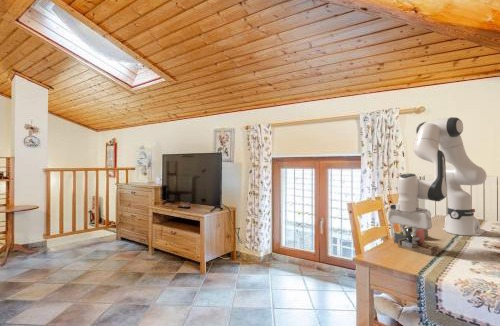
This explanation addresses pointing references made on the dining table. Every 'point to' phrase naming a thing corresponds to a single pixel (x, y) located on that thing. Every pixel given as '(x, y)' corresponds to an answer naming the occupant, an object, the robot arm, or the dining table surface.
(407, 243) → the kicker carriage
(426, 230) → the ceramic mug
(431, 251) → the track
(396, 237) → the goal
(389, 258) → the dining table surface
